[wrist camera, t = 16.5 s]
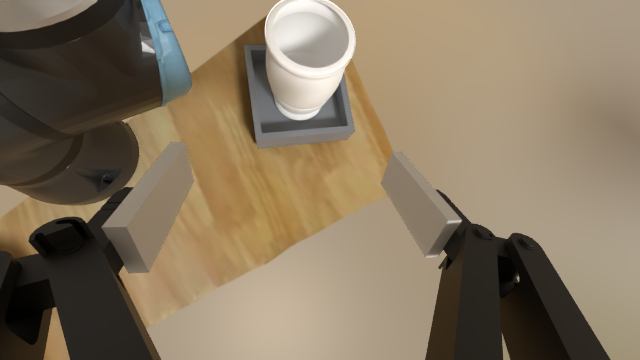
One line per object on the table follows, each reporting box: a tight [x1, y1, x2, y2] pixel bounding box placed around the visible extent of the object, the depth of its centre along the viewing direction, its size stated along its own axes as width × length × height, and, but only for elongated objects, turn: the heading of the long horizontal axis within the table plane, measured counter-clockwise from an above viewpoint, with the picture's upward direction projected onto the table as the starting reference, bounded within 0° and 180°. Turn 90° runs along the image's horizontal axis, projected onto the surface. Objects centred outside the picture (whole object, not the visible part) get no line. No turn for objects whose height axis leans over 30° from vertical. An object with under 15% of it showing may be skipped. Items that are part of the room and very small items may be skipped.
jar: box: [264, 0, 356, 120], centre depth 33 cm, size 11×10×15 cm
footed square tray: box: [244, 44, 355, 149], centre depth 41 cm, size 16×16×6 cm
